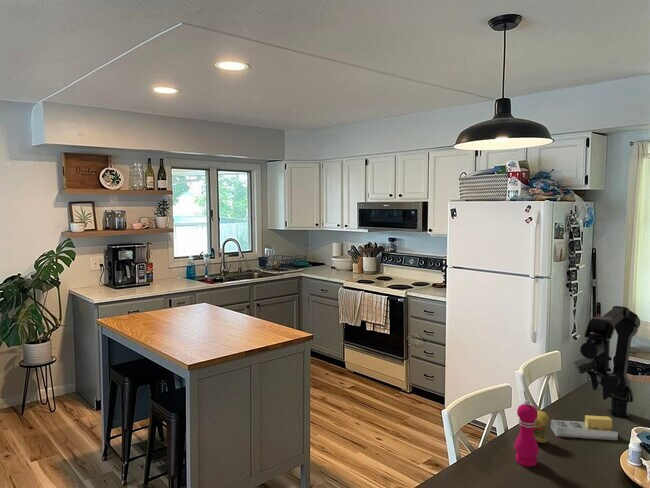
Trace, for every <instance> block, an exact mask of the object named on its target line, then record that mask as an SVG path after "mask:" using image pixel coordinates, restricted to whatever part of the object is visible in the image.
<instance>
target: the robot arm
mask: <svg viewBox="0 0 650 488" xmlns="http://www.w3.org/2000/svg"><path fill="white" fill-rule="evenodd" d="M640 325H641V319H640V318H639V316H638V314H636V313H635V312H633V311H631V310H630V308H629V307H626V306H621V305H620V306H619V305H615V306H612V308H611V309H609V311H608V312H606V313H605V314H603V315H602V316H599V315H598V316H594V317H592V318H591V319H590V320H589V321H588V323H587V326H586V329H585V333H584V338H586V340H585V342H584V343H582V344H581V346H580V348H579V350H580V351H579V352H580V353H581V355H582V356H583V357H584V358H582V359H579V360H575V361H574V362H573V365H574V368H575V370H576V372H578V373H579V374H580V375H581V374H585V373H586V374H588V377H589V380H590V384H591V387H592V390H593V391H596V390H598V386H599V385H600V389H601V396H602V400H607V399H608V398H610V402H609V404H610V406H609V407H610V408H606V411H607V412H608V413H609V414H610V415H611V416H613V417H623V418H624V417H625V418H632V416H631V414H629V412H628V404H629V403H634V396H635V394H634V392H633V390H632V388H631V381H630V378H629V377H628V375H627V374H628V367H629V359H630V353H631V346H632V338H633V337H634V336H635V335H636V334H637V333H638V330H639V328H640V327H641V326H640ZM614 332H616V334H617V340H616V346H615V352H614V353H615V355H614V361H613V367H612V368H611V367H610V361H612V357H611V356H610V349H611V347H610V346H611V345H610V344H611V343H610V342H611V341H610V340H612V338H613V335H614Z"/></svg>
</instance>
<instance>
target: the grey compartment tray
mask: <svg viewBox="0 0 650 488" xmlns="http://www.w3.org/2000/svg"><path fill="white" fill-rule="evenodd" d="M550 429H551V430H552V432H553V433H554V435H555V436H556V437H563V438H564V437H565V438H576V439H577V438H579V439H580V438H581V439H593V440H609V441H611V440H612V441H618V439H619V437H618V436H619V431H618V430H617V429H616V428H615V427H614V426H613V425H612V429H610V430H604V429H603V428H595V429H589V428H588V427H587V426H586V425H585V421H577V420H562V419H561V420H558V419H551V420H550Z"/></svg>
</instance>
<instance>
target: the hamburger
mask: <svg viewBox="0 0 650 488" xmlns="http://www.w3.org/2000/svg"><path fill="white" fill-rule="evenodd" d="M537 413H538V417H537V418H536V419H535V421H536V423H535V424H536V426H535V427H534V437H535V439H536V441H537V443H540V444H547V442H548V441H549V440H548V438H547V434H548V426H547V424H548V423H549V421H550V417H549V415H548V414H547V413H546V412H545V411H542V410H537Z"/></svg>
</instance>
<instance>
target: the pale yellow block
mask: <svg viewBox="0 0 650 488" xmlns="http://www.w3.org/2000/svg"><path fill="white" fill-rule="evenodd" d="M584 422H585V425H586V426H587V427H588V428H589V429H595V428H603V429H604V430H610V429H612V426H613V419H612V418H611V417H610V416H605V415H603V416H601V415H589V414H588V415H587V414H586V415H584Z"/></svg>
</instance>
